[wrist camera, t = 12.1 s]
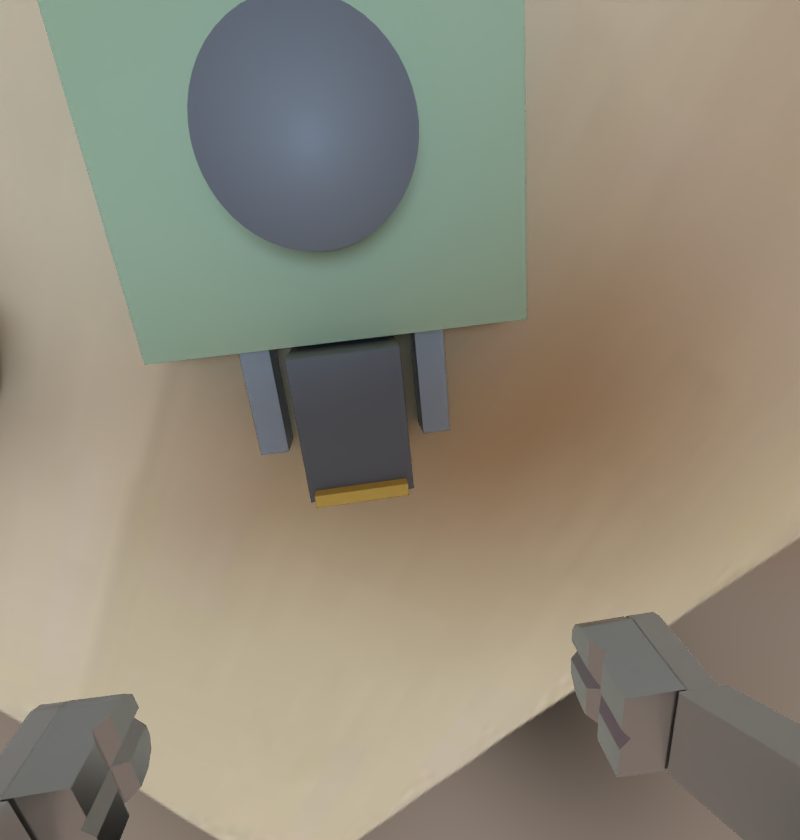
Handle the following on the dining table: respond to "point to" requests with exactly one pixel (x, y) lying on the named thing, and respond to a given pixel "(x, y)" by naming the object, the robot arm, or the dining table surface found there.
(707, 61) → the dining table surface
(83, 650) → the dining table surface
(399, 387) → the grey block yellow strip
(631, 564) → the dining table surface
